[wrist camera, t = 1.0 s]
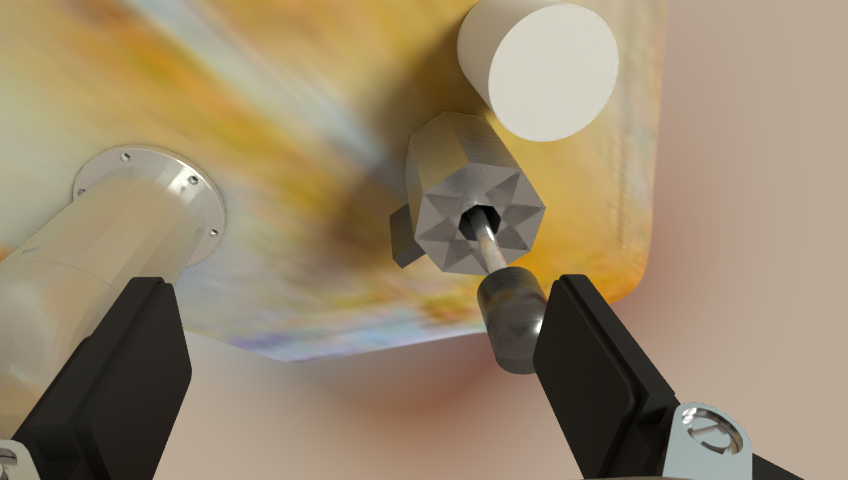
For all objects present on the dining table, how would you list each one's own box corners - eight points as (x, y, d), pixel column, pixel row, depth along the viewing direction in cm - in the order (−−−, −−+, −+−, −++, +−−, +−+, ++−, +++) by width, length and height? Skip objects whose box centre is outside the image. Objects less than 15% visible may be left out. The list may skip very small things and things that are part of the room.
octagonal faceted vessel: (418, 233, 47) (431, 310, 37) (362, 168, 43) (360, 235, 33) (517, 169, 45) (561, 232, 34) (469, 92, 40) (502, 139, 30)
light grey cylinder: (501, 113, 42) (543, 165, 31) (436, 49, 38) (461, 83, 28) (572, 41, 39) (643, 72, 29) (509, -35, 36) (565, -31, 25)
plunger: (461, 223, 38) (516, 384, 24) (437, 192, 37) (481, 345, 22) (498, 199, 38) (578, 351, 23) (475, 166, 36) (547, 309, 22)
